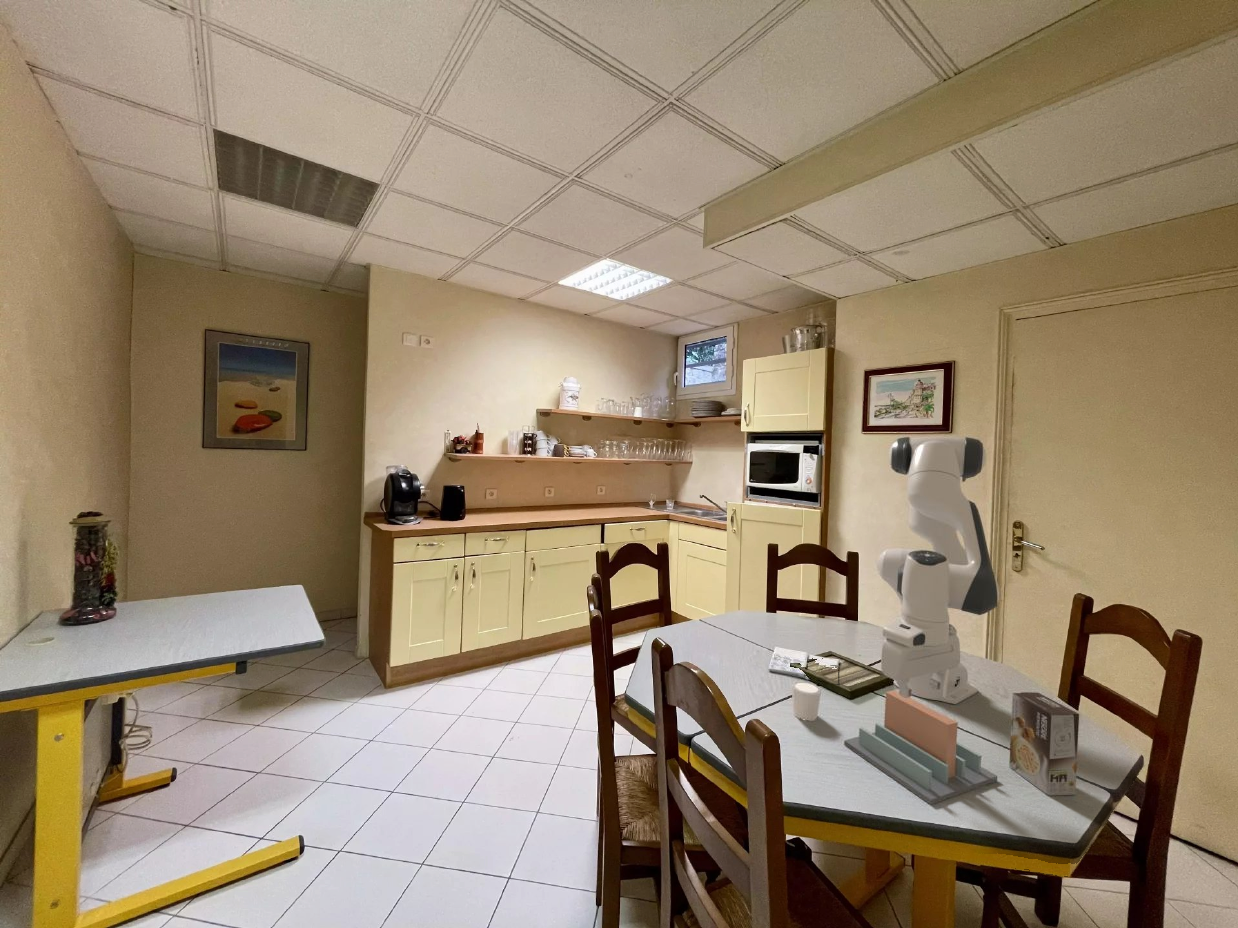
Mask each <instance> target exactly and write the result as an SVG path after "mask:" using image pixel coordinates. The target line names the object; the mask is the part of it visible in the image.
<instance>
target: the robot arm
mask: <svg viewBox="0 0 1238 928" xmlns="http://www.w3.org/2000/svg"><path fill="white" fill-rule="evenodd" d="M986 461H987V452H986V449H985V447H984V444H983V442H981V440H980V439H977V438H974V437H973V438H972V437H968V436H967V437H964V438H963V437H958V436H947V435H946V436H945V435H937V436H916V437H909V436H905V437H899V438H896V439H895V440H894V441H893V442H892V444H891V446H890V448H889V451H888V462H889V464H890V467H891V469H892V470H893V471H894V472H895V473H897V474H900V475H904V476H907V486H906V487H907V488H906V491H907V492H906V493H907V499H908V501H909V513H908V526H909V528H910V530H911V531H912V532H913V533H914V534H916V535H917V536H919V537H920V538H922V539H923V540H925V541H927V542H929V543H930V544H931V546H932V549H933V550H927V549H913V548H906V547H905V548H904V547H903V548H902V547H901V548H900V547H898V548H897V547H893V548H886V549H885V550H883V551H882V552H881V553H880V554H879V556H878V558H877V562H876V563H877V564H876V567H877V573H878V574H879V576H880V578H881V579H882V580H883V581H884V582H885V583H887V584H888V585H889V586H890V588H892V590H893V591H894V592H895V594H896V596H897V597H898V599H899V601H900V605H901V607H900V615H898V616H897V617H896V618H895V619H894V620H893V621H891V622H890V623H888V624H886V625H885V626H883V627H882V636H883V637H885V639H884V641H883V642H882V645H881V654H880V655H881V657H880V667H881V668H880V669H881V672H882V673H883V675H884V676H886V677H888V678H889V679H892V681H893V680H894V681H893V684H894V685H895V686H896V687H897V688H898V692H899V695H900V696H902V697H904V698H908V697H909V698H911V697H912V695H913V696H916V697H919V698H923V699H927V700H932V701H941V702H945V703H948V704H953V705H957V704H958V703H960V702H962V701H965V700H966V699H968V698H969V697H971V696H973V695H975V694H977V692H978V691H979V690H978V687H977V686H975V685H974V684H973V683H971V682H969V679H968V674H969V673H968V670H967V667H966V666H965V665H963V664H962V663H961V645H960V644H961V643H960V639H959V637H958V635H957V634H958V633H957V629H956V627H955V626H954V625H953V624H951V623H950V615H949V611H948V609H954V610H959V611H962V612H965V613H970V614H974V615H977V616H981V615H984V614H987V613H989V612H991V611H992V610H995V609H996V608H997V607H998V603H999V600H1000V588H999V583H998V581H997V579H996V576H995V573H994V569H993V566H992V563H991V558H990V554H989V548H988V545H987V540H986V534H985V531H984V525H983V522H982V519H981V515H980V512H979V509H978V507H977V505H976V503H975V502H973V501H971V500H969V499H968V498H967V497H966V495H965V494H964V493H963V491H962V488H961V482H962V483H964V482H966V480H967V479H970V478H974V477H976V476H977V475H978V474H980V473H981V472H982V470H983V468H984V467H985V465H986ZM961 477H962V478H961ZM957 532H958V533H959V534H960V535H961V536H962V540H963V544H964V546H963V545H962V543H961V542H960V539H959V536H958V533H957Z"/></svg>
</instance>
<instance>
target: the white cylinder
mask: <svg viewBox="0 0 1238 928" xmlns="http://www.w3.org/2000/svg"><path fill="white" fill-rule="evenodd" d="M821 691H822V689H821V688H820V686H818V685H816V684H815V683H812V682H809V681H800V680H797V681H794V682H793V683H791V694H792V695H791V696H792V713H794V714H793V715H794V716H795V717H796V716H797V717H798V718H797V717H796V718H797V719H800V718H801V719H800V720H802V719H805V720H804V721H806V720H809V721H808V722H813V721H816V720H817V719H818V713H819V706H820V701H821V700H820V699H821V693H822V692H821ZM816 718H817V719H816ZM815 719H816V720H815Z"/></svg>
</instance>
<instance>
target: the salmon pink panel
mask: <svg viewBox="0 0 1238 928" xmlns="http://www.w3.org/2000/svg"><path fill="white" fill-rule="evenodd" d="M883 727H885V728H887V729H888V730H890V731H892V732H893V733H895V734H897V735H898V736H900V737H902V738H903V739H905V740H907V741H908V742H910V743H912V744H913V745H915V746H917V747H918V748H920V749H922V750H923V751H925V752H927V753H928V754H930V755H932V756H933V757H935V758H937V759H938V760H940V761H942V762H943V763H945V764H947V765H948V766H949V776H948V778H951V777H954V776H955V761H956V743H957V741H958V740H957V739H958V722H957V721H956V720H955V719H951V718H950V717H948V716H946V715H944V714H942V713H940V712H938V711H936V710H934V709H932V708H931V707H928V706H926V705H925V704H922V703H921V702H919V701H917V700H915V699H913V698H911V697H908V698H904V697H902V696H900V695H899V691H897V690H894V689H893V690H890V691H886V692H885V704H884V724H883Z"/></svg>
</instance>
